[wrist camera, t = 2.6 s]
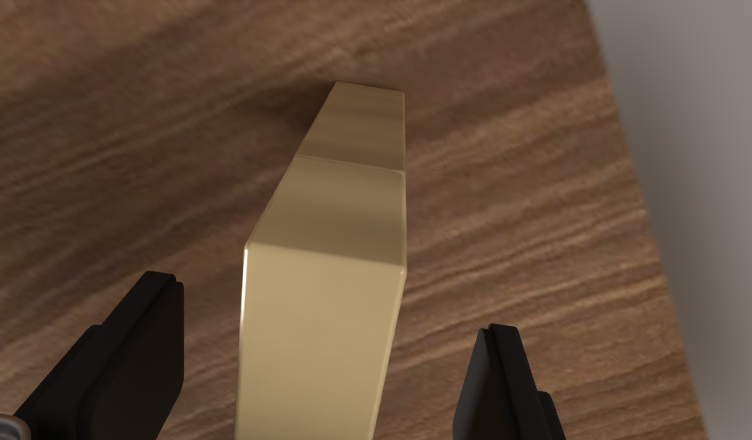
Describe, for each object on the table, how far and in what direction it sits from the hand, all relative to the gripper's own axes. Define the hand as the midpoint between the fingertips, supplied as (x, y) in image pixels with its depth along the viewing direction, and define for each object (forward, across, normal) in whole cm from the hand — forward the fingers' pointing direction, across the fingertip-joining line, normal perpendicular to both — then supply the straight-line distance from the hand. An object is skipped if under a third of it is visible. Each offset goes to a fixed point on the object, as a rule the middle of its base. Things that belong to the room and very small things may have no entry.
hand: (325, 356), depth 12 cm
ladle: (+5, 0, +4) cm, 6 cm away
